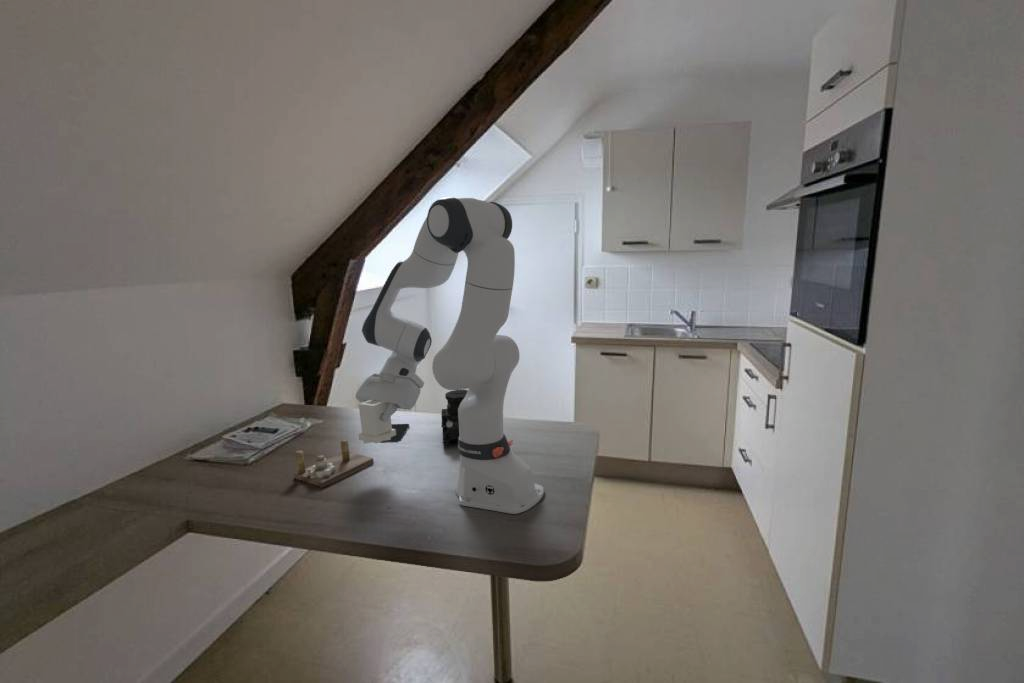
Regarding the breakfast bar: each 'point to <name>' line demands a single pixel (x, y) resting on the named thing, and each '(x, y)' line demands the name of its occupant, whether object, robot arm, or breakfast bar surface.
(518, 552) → the breakfast bar surface
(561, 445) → the breakfast bar surface
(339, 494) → the breakfast bar surface
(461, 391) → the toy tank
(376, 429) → the white square socket
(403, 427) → the smartphone
